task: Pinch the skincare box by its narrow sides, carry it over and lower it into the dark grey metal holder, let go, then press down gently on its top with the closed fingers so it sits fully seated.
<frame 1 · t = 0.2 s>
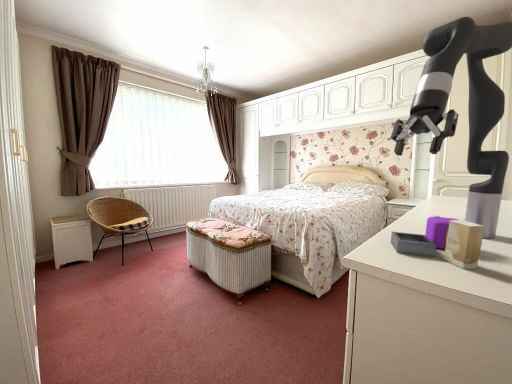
hand: (414, 154, 60), 31 cm above the dresser top, tool tilted 20°, fingers open, 8 cm apart
toy camera: (449, 247, 79), on the dresser top
holder: (410, 249, 76), on the dresser top
skincare box: (460, 265, 65), on the dresser top
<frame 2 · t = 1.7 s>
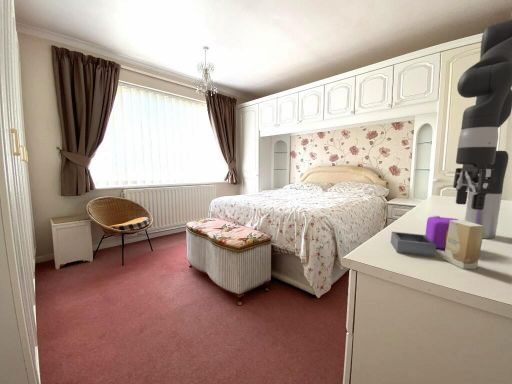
hand: (468, 206, 63), 17 cm above the dresser top, tool pointing down, fingers open, 8 cm apart
nothing on the dresser top moved.
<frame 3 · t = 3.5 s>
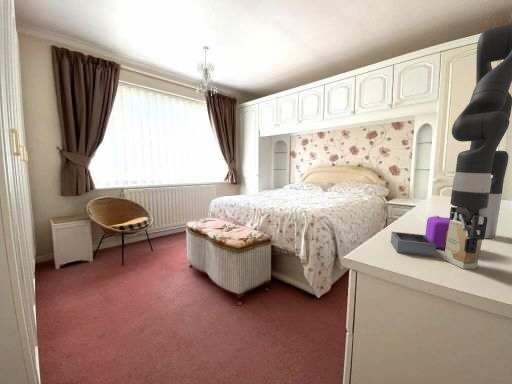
hand: (462, 247, 64), 5 cm above the dresser top, tool pointing down, fingers closed on skincare box, 7 cm apart
skincare box: (460, 264, 65), on the dresser top, touching gripper
everything else where it was.
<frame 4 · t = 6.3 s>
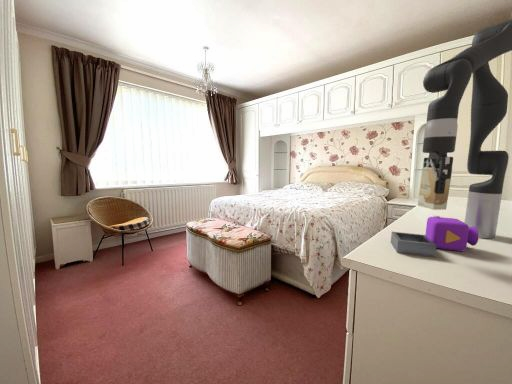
hand: (433, 191, 69), 20 cm above the dresser top, tool pointing down, fingers closed on skincare box, 7 cm apart
skincare box: (431, 208, 70), point 15 cm above the dresser top, touching gripper
everything else where it was.
when the fingers open (6 cm above the dresser top, at t = 9.6 s): skincare box drops 1 cm, resting in holder.
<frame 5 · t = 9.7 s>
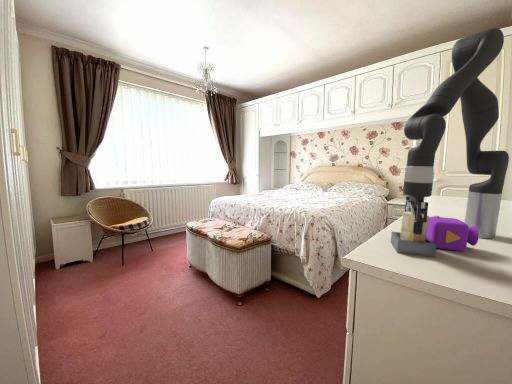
hand: (413, 230, 75), 7 cm above the dresser top, tool pointing down, fingers open, 8 cm apart
skincare box: (411, 250, 75), resting in holder
everything else where it was.
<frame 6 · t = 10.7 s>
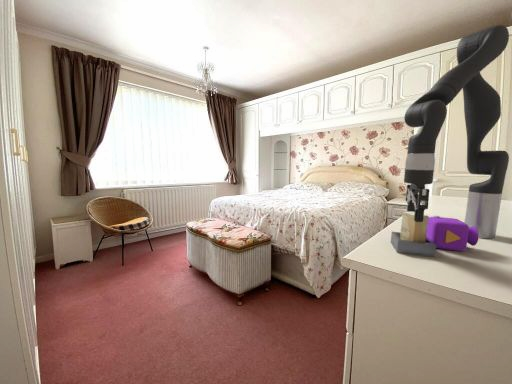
hand: (414, 218, 74), 10 cm above the dresser top, tool pointing down, fingers open, 8 cm apart
nothing on the dresser top moved.
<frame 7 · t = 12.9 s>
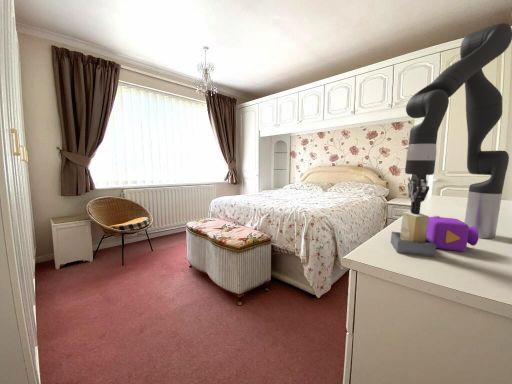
hand: (414, 213, 74), 12 cm above the dresser top, tool pointing down, fingers closed
skincare box: (411, 250, 75), resting in holder, touching gripper
everything else where it was.
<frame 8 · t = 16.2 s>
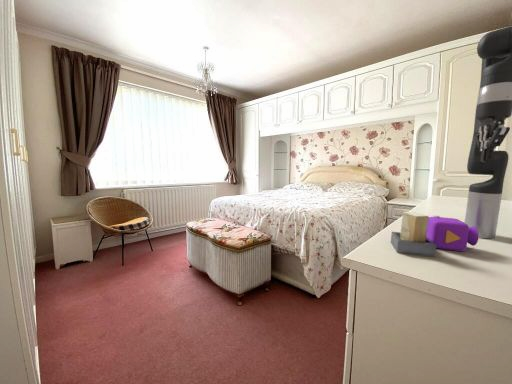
hand: (486, 161, 69), 29 cm above the dresser top, tool pointing down, fingers closed
skincare box: (411, 250, 75), resting in holder
everything else where it was.
at the end: skincare box 0.3 cm off-centre on the holder, point 0.0 cm above the holder's base; skincare box tilted 0°; the gripper is holding nothing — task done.
